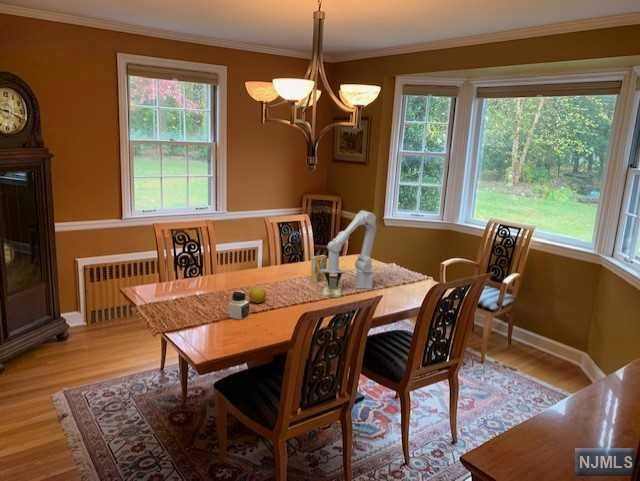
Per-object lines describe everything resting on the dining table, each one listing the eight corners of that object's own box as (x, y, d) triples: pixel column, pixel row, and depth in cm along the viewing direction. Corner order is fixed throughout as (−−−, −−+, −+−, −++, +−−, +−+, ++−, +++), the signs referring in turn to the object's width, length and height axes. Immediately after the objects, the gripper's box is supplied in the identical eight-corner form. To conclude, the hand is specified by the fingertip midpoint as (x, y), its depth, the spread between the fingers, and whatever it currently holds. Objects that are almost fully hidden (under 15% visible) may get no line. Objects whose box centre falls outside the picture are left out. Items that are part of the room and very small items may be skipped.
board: (341, 286, 281) (341, 284, 281) (341, 297, 263) (341, 295, 262) (324, 285, 282) (324, 283, 282) (322, 296, 263) (322, 294, 263)
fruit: (259, 306, 246) (259, 291, 245) (246, 303, 250) (246, 288, 248) (269, 301, 254) (269, 286, 252) (256, 298, 258) (256, 283, 256)
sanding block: (336, 286, 277) (336, 276, 276) (336, 290, 270) (336, 279, 269) (329, 286, 277) (329, 275, 276) (329, 289, 271) (329, 279, 269)
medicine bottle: (241, 320, 227) (241, 295, 225) (228, 317, 230) (228, 293, 227) (249, 315, 234) (249, 291, 231) (236, 312, 236) (236, 289, 234)
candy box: (322, 278, 295) (322, 254, 291) (326, 280, 292) (327, 255, 288) (310, 281, 289) (311, 256, 286) (315, 283, 286) (315, 258, 283)
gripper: (320, 263, 267) (319, 287, 270) (346, 264, 267) (345, 288, 269) (320, 260, 274) (320, 283, 277) (346, 261, 273) (345, 284, 276)
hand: (332, 285), depth 274 cm, fingers closed on sanding block, 4 cm apart
